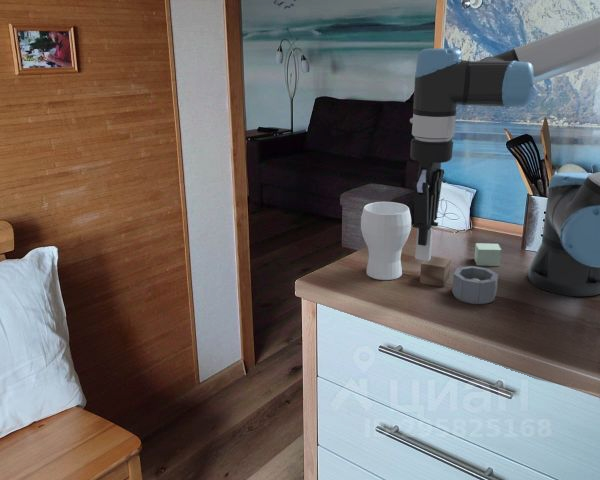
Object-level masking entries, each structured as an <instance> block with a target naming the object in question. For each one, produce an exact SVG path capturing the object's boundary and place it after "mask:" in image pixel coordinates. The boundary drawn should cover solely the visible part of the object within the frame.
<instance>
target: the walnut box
mask: <svg viewBox="0 0 600 480" xmlns="http://www.w3.org/2000/svg"><path fill="white" fill-rule="evenodd" d="M451 261H452V260H451V258H446V257H439V256H433V255H431V259H430V260H429V261H425V260H422V262H421V263H420V276H419V284H424V285H425V284H426V285H431V286H435V287H436V286H437V287H442V288H444V287H445V285H446V284H447V283H448V281H449V279H450V275H451V263H452V262H451Z"/></svg>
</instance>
